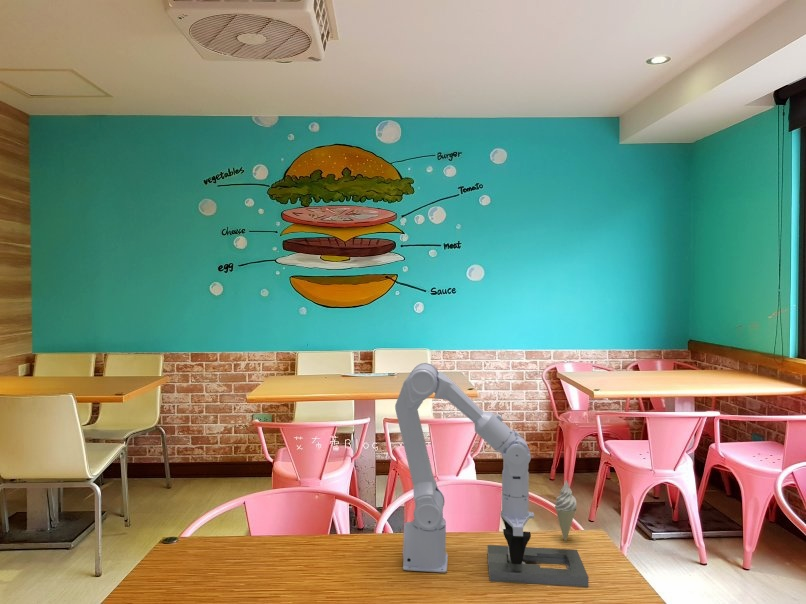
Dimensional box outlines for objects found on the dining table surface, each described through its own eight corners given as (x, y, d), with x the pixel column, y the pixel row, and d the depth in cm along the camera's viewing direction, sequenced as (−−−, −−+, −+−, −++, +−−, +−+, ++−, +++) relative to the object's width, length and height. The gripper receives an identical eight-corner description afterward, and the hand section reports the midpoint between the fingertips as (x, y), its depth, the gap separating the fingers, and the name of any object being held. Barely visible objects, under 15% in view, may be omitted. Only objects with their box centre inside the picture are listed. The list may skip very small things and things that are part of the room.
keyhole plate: (489, 581, 116) (489, 571, 116) (487, 554, 128) (487, 544, 128) (588, 587, 114) (588, 576, 114) (576, 558, 126) (576, 549, 126)
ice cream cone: (577, 546, 132) (577, 483, 132) (555, 544, 133) (555, 482, 133) (575, 537, 137) (575, 476, 136) (553, 535, 138) (554, 475, 137)
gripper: (538, 506, 113) (537, 572, 114) (530, 482, 128) (529, 540, 128) (503, 505, 114) (502, 570, 114) (499, 480, 129) (498, 539, 129)
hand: (514, 554), depth 121 cm, fingers open, 7 cm apart
